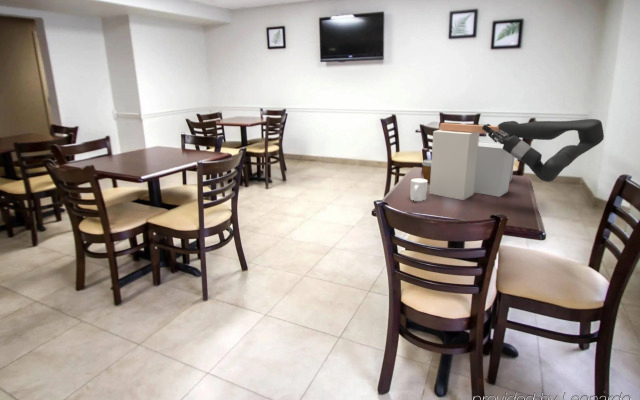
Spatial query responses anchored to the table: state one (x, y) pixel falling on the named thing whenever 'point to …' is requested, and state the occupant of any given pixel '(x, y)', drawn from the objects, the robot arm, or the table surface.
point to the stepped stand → (467, 165)
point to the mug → (418, 189)
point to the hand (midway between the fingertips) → (485, 126)
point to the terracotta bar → (466, 127)
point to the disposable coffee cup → (427, 170)
